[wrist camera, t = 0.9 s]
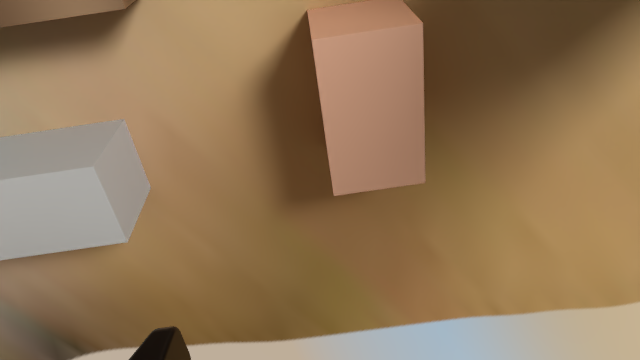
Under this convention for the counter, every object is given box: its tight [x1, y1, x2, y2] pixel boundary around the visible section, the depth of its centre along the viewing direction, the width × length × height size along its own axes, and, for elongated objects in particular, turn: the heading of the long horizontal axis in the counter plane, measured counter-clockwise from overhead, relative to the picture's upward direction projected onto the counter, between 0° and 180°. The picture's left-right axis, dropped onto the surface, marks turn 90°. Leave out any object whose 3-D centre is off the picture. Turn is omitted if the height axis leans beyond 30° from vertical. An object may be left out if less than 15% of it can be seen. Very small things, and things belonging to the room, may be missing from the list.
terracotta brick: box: [307, 0, 425, 196], centre depth 18 cm, size 6×4×4 cm, turn 8°
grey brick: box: [0, 119, 151, 260], centre depth 20 cm, size 6×4×4 cm, turn 98°
